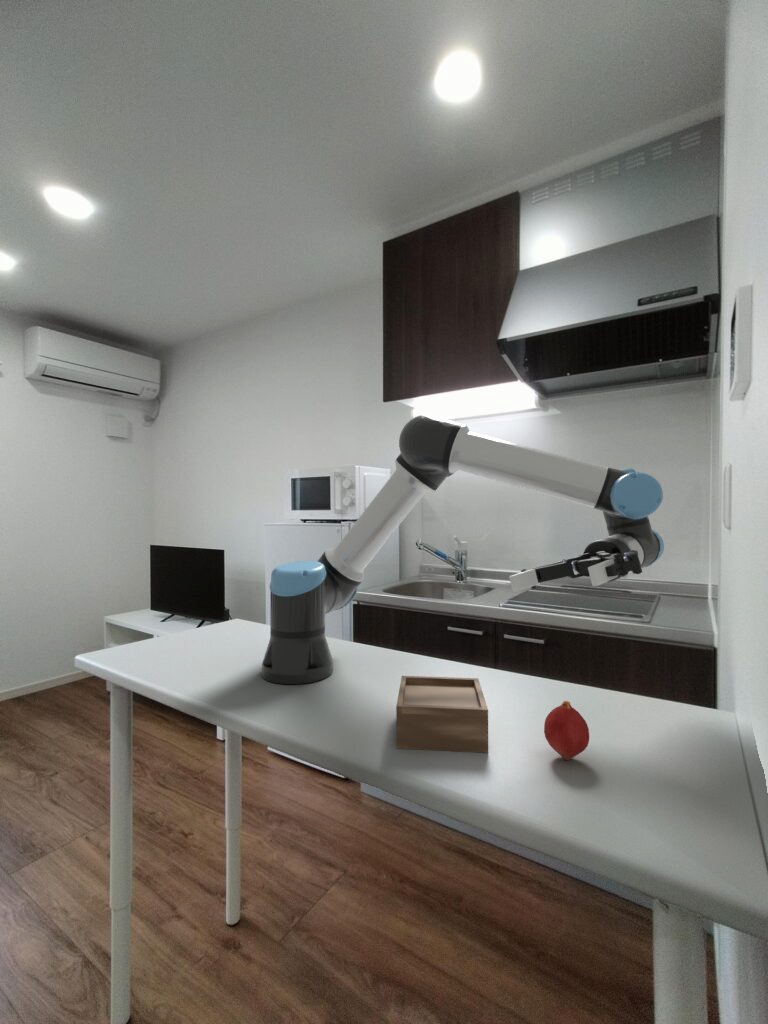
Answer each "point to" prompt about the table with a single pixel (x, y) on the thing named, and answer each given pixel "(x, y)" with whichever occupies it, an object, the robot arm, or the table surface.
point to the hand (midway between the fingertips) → (549, 580)
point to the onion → (566, 731)
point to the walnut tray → (441, 714)
